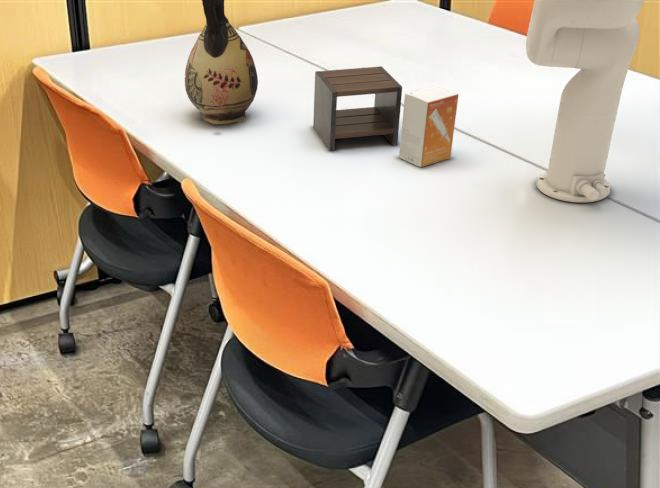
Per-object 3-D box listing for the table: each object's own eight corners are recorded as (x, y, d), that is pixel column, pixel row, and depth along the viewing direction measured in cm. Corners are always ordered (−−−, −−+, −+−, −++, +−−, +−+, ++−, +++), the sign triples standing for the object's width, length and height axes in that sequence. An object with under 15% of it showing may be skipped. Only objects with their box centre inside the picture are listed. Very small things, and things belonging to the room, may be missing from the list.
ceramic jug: (198, 102, 220) (194, -38, 203) (265, 108, 215) (266, -34, 199) (173, 129, 206) (166, -18, 190) (244, 136, 202) (243, -14, 186)
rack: (397, 145, 196) (402, 86, 190) (329, 151, 194) (332, 92, 188) (377, 122, 207) (381, 66, 200) (313, 127, 205) (315, 71, 199)
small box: (420, 168, 186) (427, 102, 179) (398, 158, 191) (403, 92, 184) (451, 158, 190) (459, 93, 183) (428, 148, 194) (435, 84, 187)
